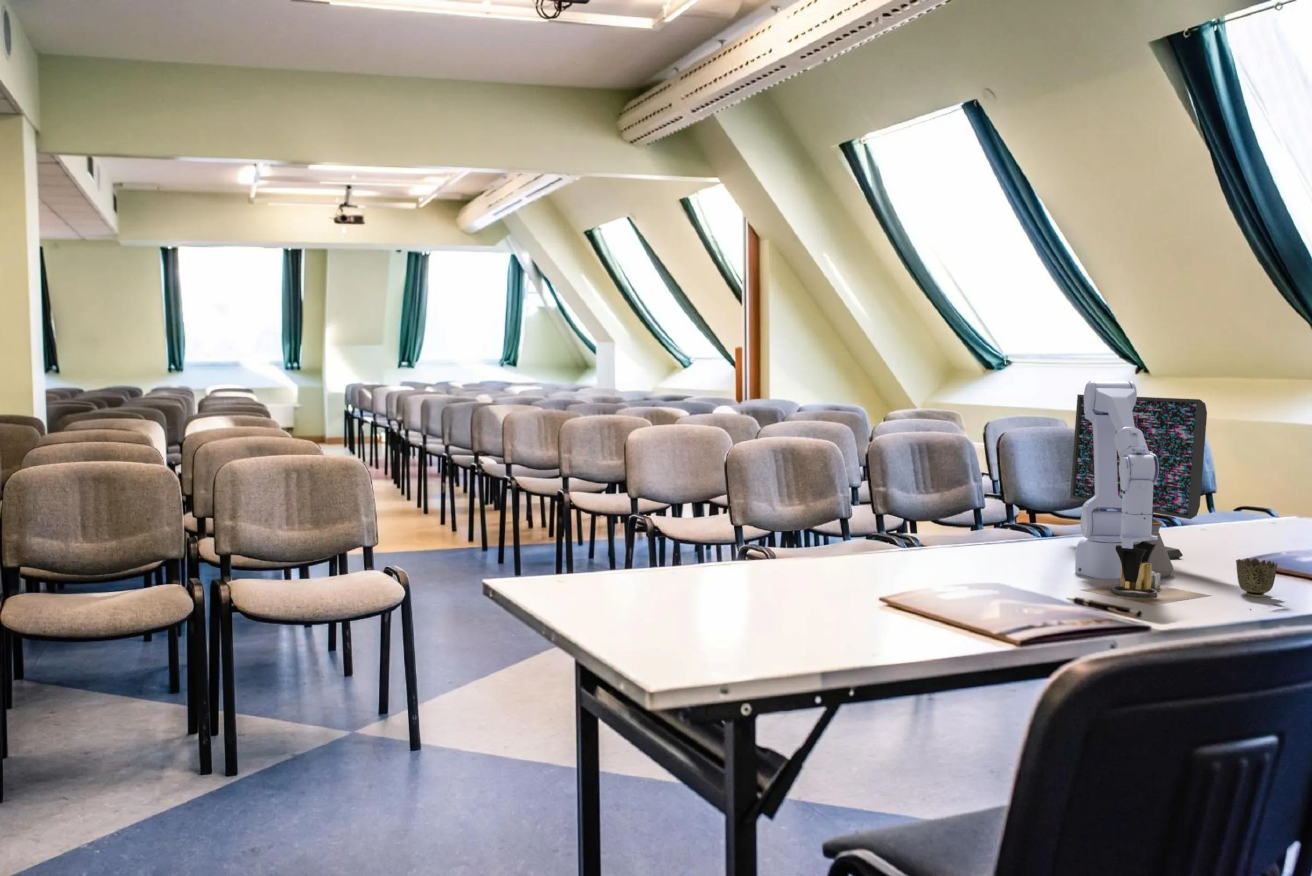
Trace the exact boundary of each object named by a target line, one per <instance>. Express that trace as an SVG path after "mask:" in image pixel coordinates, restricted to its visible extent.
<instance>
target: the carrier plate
mask: <svg viewBox="0 0 1312 876" xmlns="http://www.w3.org/2000/svg"><path fill="white" fill-rule="evenodd" d="M1113 586H1120V583H1119V584H1111V585H1104V586H1098V587H1091V588H1083V589H1081V591H1083V592H1088V593H1093V594H1096V595H1103V596H1108V597H1112V598H1117V599H1122V600H1126V601H1131V602H1132V601H1133V602H1137V603H1142V604H1147V605H1151V606H1156V605H1164V604H1168V603H1169V604H1170V603H1175V602H1176V603H1177V602H1181V601H1182V602H1183V601H1188V600H1193V599H1201V598H1207V597H1212V596H1213V595H1211V594H1206V593H1200V592H1195V591H1190V590H1185V589H1178V588H1174V587H1169V586H1164V585H1160V588H1158V589H1157V590H1156V591H1157V596H1156V597H1152V598H1134V597H1125V596H1120V595H1115V594H1113V593H1111V588H1112V587H1113ZM1118 591H1123V592H1129V593H1148V592H1143V591H1135V590H1118Z"/></svg>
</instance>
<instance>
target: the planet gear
mask: <svg viewBox="0 0 1312 876" xmlns="http://www.w3.org/2000/svg"><path fill="white" fill-rule="evenodd" d="M1151 572H1152V563H1147V562H1145V561H1141V564H1140V569H1139V575H1138V579H1137V581H1136V582H1127V581H1125V579H1124V574H1123V569H1122V564H1121V575H1120V578H1119V579H1120V582H1119V584H1120V586H1121V587H1125V588H1128V589H1130V588H1132V589H1137V590H1141V589H1150V588H1151Z"/></svg>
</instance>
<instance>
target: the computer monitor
mask: <svg viewBox="0 0 1312 876" xmlns="http://www.w3.org/2000/svg"><path fill="white" fill-rule="evenodd" d="M1075 409H1076V410H1075V422H1074V423H1075V424H1074V439H1073V451H1072V453H1073V454H1072V464H1071V465H1072V467H1071V478H1070V493H1069V494H1070V495H1069V498H1070V499H1073V500H1078V501H1085V502H1086V501H1088V500H1089V499H1091V498H1092V497H1094V496H1095V478H1094V440H1093V427H1092V422H1091V421H1089V420H1087V419H1086V418H1085V413H1084V394H1077V398H1076V408H1075ZM1132 414H1133V419H1134V425H1135V428H1138V429H1140V430H1141V431H1142V433H1143V436H1144V439H1145V442H1146V445H1147V448H1148V450H1149V451H1152V453H1153V454H1155V455H1156V456H1157V459H1158V463H1159V474H1158V478H1157V481H1156V482H1154V483H1153V506H1152V520H1153V521H1154V519H1153V518H1154V517H1153V516H1154V514H1159V515H1163V516H1164V515H1165V516H1171V517H1175V518H1182V519H1187V520H1192V519H1194V518H1195V517H1197V515H1198V513H1199V510H1200V507H1201V499H1202V498H1201V497H1202V482H1203V469H1204V457H1205V456H1204V455H1205V446H1206V434H1207V433H1206V431H1207V420H1208V419H1207V418H1208V411H1207V405H1206V403H1205V402H1204V401H1203V400H1201V399H1200V398H1199V399H1198V398H1176V397H1175V398H1174V397H1153V396H1151V397H1149V396H1148V397H1147V396H1137V399H1136V403H1135V406H1134V408H1133V410H1132ZM1116 433H1117V431H1116ZM1119 464H1120V458H1119V455H1118V451H1117V480H1118V496H1119V497H1120V498H1121V499H1122V493H1123V490H1121V487H1120V475H1119ZM1164 546H1165V545H1164ZM1165 548H1166V551H1167V553H1168V556H1169V558H1170V560H1171V559H1172V560H1174V559H1180V558H1182V557H1183V556H1184V554H1183V553H1182V551H1181V550H1180V549H1179V548H1174V547H1170V546H1165Z"/></svg>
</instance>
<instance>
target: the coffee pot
mask: <svg viewBox="0 0 1312 876" xmlns="http://www.w3.org/2000/svg"><path fill="white" fill-rule="evenodd" d="M1093 510H1099V511H1101V509H1093ZM1162 525H1163V522H1162V521H1160V520H1159V521H1158V520H1154V519H1153V520H1152V531H1151V535H1153V536H1158V539H1157V540H1149V541H1147V542H1150V543H1155V544H1156V545H1155V548H1154V549H1153V551H1152V553H1151V555H1150V557H1149V560H1148V563H1152V571H1154V572H1155V573H1160V574H1161V575H1160V579H1161V578H1163V579H1164V578H1167V577H1169V576H1170V575H1171V574H1172V572H1173V570H1174V567H1173V563H1172V560H1171V559H1170V558H1169V556H1168V553H1167V551H1166V548H1165V543H1164V541H1163V539H1162V536H1161V533H1160V528H1161V526H1162Z"/></svg>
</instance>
